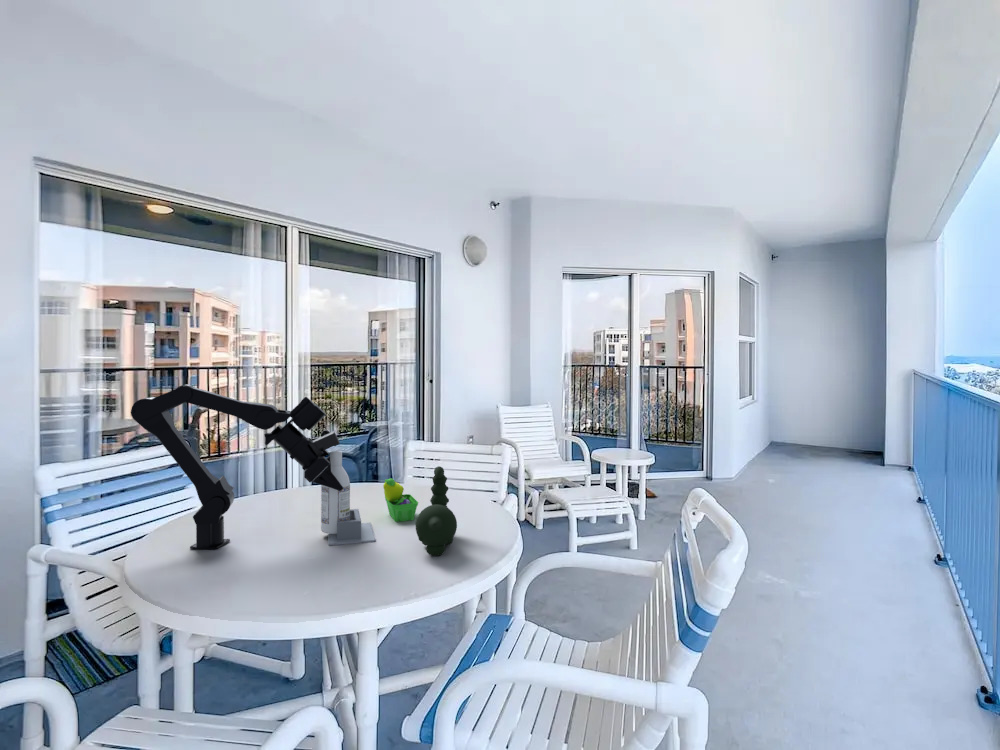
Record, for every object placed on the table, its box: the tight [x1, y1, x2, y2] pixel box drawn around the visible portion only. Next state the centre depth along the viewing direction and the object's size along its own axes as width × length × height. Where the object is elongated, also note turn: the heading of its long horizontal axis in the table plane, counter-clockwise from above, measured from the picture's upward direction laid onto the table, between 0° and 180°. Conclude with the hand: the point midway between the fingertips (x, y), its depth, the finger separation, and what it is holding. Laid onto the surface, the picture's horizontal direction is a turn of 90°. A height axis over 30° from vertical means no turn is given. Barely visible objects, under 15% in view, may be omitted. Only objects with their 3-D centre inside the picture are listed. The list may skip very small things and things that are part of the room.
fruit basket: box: [383, 477, 419, 523], centre depth 163 cm, size 11×9×11 cm
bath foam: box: [320, 450, 351, 535], centre depth 145 cm, size 7×7×20 cm
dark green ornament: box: [415, 466, 458, 557], centre depth 137 cm, size 9×19×25 cm
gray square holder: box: [327, 508, 376, 546], centre depth 147 cm, size 11×16×5 cm
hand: (341, 486), depth 146 cm, fingers closed on bath foam, 7 cm apart
